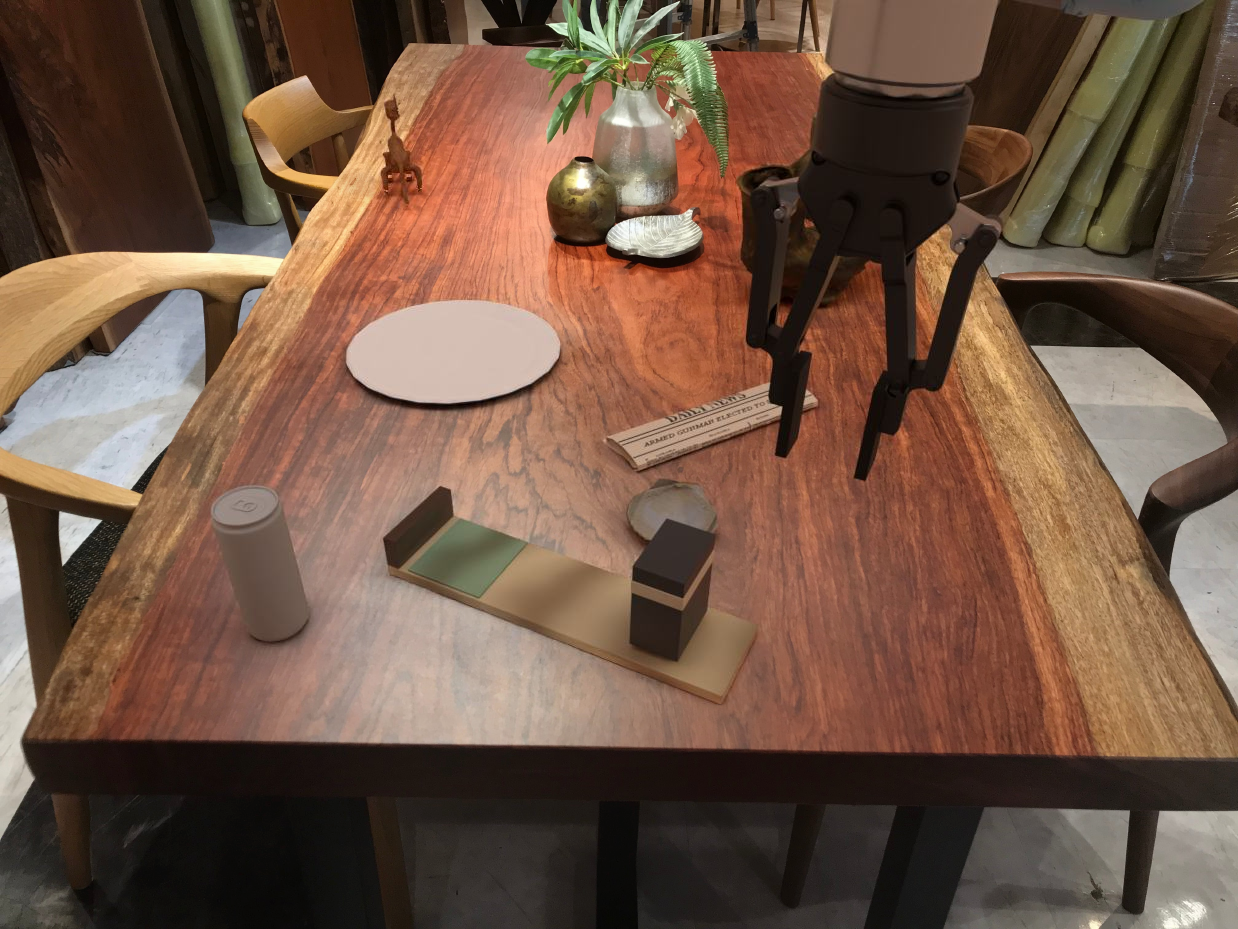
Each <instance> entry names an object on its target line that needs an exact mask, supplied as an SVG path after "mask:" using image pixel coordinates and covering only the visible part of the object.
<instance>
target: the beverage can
mask: <svg viewBox="0 0 1238 929" xmlns="http://www.w3.org/2000/svg"><path fill="white" fill-rule="evenodd" d="M210 515H211V525H212V528H213V531H214V535H215V538H216V540H217V544H218V547H219V550H220V553H221V557H222V559H223V560H222V561H223V563H224V565H225V569H226V572H227V574H228V578H229V580H230V583H231V587H232V590H233V592H234V596H235V599H236V601H237V604H238V608H239V610H240V613H241V617H242V619H243V622H244V624H245V628H246V629H247V632H248V633H249V634H250V635H251V636H252V637H254V638H256V639H257V640H258V641H259V640H260V641H264V642H279V641H280V642H281V641H283V640H284V641H285V640H287V639H289V638H291V637H293V636H294V635H296V634H297V633H298V632H300V631H301V629H303V628H304V626H305V625H306V623H307V622H308V619H309V615H310V609H309V608H310V607H309V603H308V601H307V600H308V599H307V596H306V592H305V588H304V585H303V581H302V577H301V572H300V569H299V568H300V567H299V565H298V561H297V558H296V553H295V549H294V546H293V542H292V537H291V534H290V529H289V526H288V521H287V518H286V514H285V510H284V506H283V503H282V501H281V500H280V498H279V496H278V494H277V492H276V491H275V490H273V489H272V488H270V487H267V486H265V485H257V484H255V485H254V484H252V485H250V484H249V485H243V486H238V487H235V488H232V489H230V490H228V491H225V492H224V493H222V494H221V495H220V496H218V497H217V498H216V499H215V500H214V502H213V504H212V505H211V507H210Z"/></svg>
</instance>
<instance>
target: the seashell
mask: <svg viewBox="0 0 1238 929" xmlns="http://www.w3.org/2000/svg"><path fill="white" fill-rule="evenodd" d="M626 517H627V518H626V519H627V521H628V523H629V525H630V527H631V528H632V529H633V531H634V532H635V533H637V535H638V537H640V538H643V540H644V541H646V542H650V541H651V539H652V538H653V537H654V535H655V534H656V532H657V531H658V530H659V528H660V527H661V525H662V524H663V523H664V521H665V520H666V519H667V518H668V519H671V520H674V521H677V522H680V523H683V524H686V525H689V526H692V527H695V528H698V529H701V530H704V531H707V532H711V533H714V534H715V531H716V530H717V529H718V525H719V517H718V512H717V510H716V509H715V507H714V505H713V504H712V503H711V502H710V501H709V499H708V496H707V495H706V493H705V491H704V488H703V487H702V485H701V484H700V483H696V482H689V481H677V480H675V479H669V478H661V477H658V478H657V479H656V481H655V482H654V483H653V486H652V487H649V488H648V489H646V490H644V491H641V492H640V493H638V494H636V495H634V496H633V498H632V499H630V500H629V502H628V504H627V508H626Z"/></svg>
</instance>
